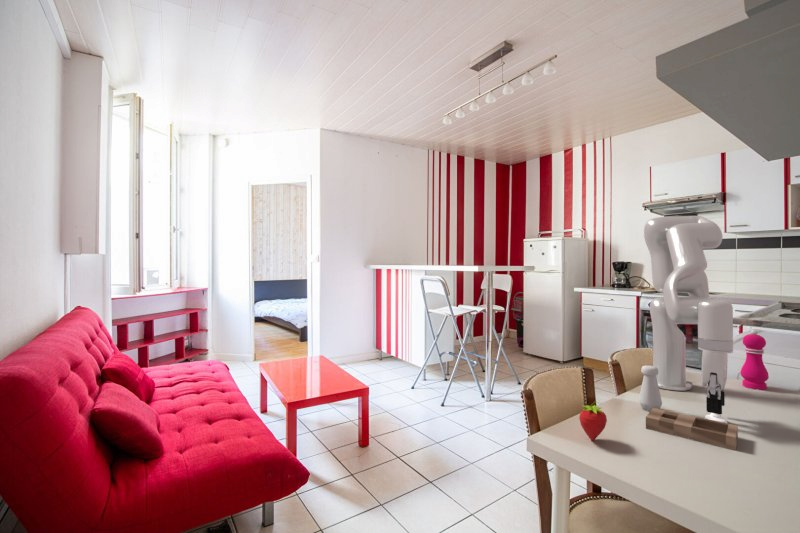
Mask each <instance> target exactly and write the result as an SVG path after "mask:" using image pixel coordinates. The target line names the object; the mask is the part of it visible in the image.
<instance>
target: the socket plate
mask: <svg viewBox="0 0 800 533" xmlns="http://www.w3.org/2000/svg"><path fill="white" fill-rule="evenodd" d="M704 418H705V417H704ZM704 418H703V417H699V416H695V415H689V414H686V413H685V414H684V413H679V412H675V411H672V410H671V411H670V410H665V409H661V408H660V409H657V408H652V410H651V411H650V412H648V413H647V414H646V416H645V429H646V430H651V431H655V432H659V433H662V434H663V433H664V434H666V435H667V434H668V435H670V436H675V437H680V438H684V439H688V440H692V441H695V442H699V443H700V442H701V443H703V444H709V445H712V446H715V447H721V448H725V449H728V450H732V451H736V450H737V444H738V438H739V436H738V435H739V432H738V431H739V430H738V429H739V428H738V425H736V424H732V423H728V422H727V423H723V422H718V421H714V420H709V419H704Z"/></svg>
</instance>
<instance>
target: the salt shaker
mask: <svg viewBox="0 0 800 533" xmlns="http://www.w3.org/2000/svg"><path fill="white" fill-rule="evenodd" d="M640 370H641V373H642V375H643V379H642V383H641V388H640V392H639V398H638V402H639V404H640V406H641V408H642V410H643V411H646V412H648V413H649V412H650V411H651V410H652V408H657V409H661V407H662V405H663V401H662V397H661V396H662V395H661V392H660V388H659V387H658V382H657V378H656V375H658V372H659V371H658V369H657V368H656V367H654V366H653V365H650V364H649V365H642V367H641V369H640Z"/></svg>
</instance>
